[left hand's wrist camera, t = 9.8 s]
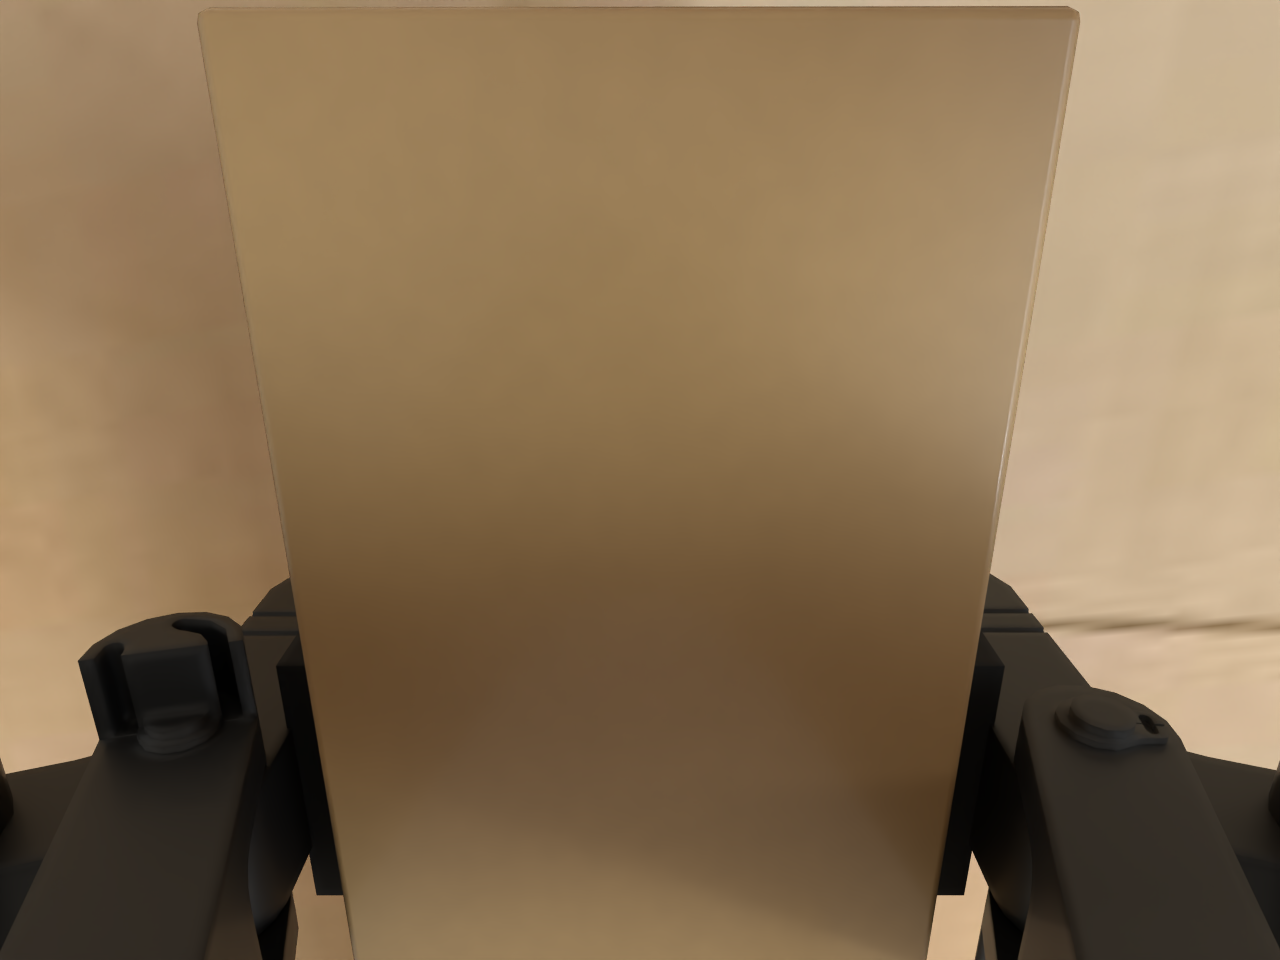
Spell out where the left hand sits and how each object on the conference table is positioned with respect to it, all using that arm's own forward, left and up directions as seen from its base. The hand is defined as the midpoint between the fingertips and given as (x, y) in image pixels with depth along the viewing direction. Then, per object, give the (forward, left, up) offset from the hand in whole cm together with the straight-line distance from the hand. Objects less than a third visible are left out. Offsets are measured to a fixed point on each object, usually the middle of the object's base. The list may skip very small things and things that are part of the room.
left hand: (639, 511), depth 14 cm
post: (+19, +14, -1) cm, 24 cm away
